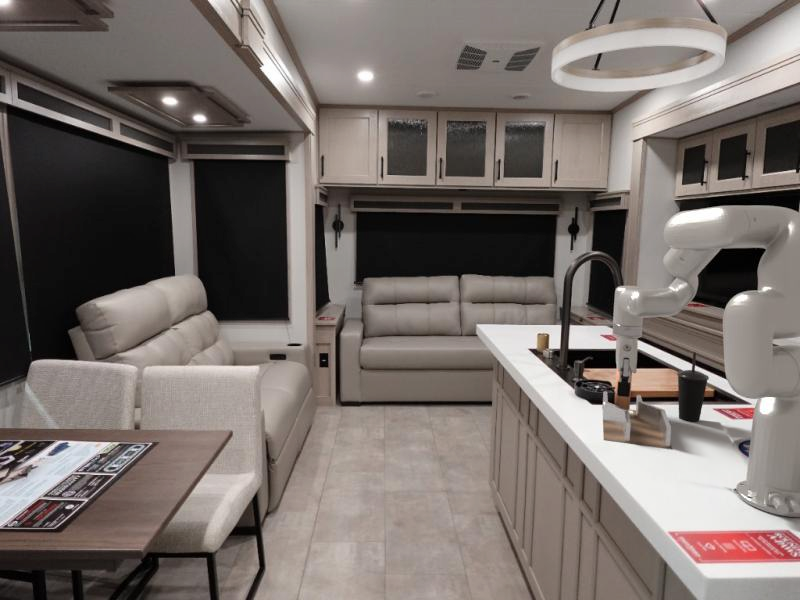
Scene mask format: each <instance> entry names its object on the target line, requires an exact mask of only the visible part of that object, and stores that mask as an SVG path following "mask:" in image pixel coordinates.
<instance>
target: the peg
mask: <svg viewBox="0 0 800 600" xmlns="http://www.w3.org/2000/svg"><path fill="white" fill-rule="evenodd" d="M621 368H622V367H621ZM621 371H623V369H621ZM628 372H629V370H628ZM615 373H616V375H615V376H616V377H615V388H614V390H615V391H614V403H613V404H614V405H616V406H619V407H621V408H624V409H626V410H631V409H630V407H631V394H632V393H631V391H632V378H633V372H632V371H631V372H630V373H631V374H630V383H631V384H630V396H629V397H623V396H618V395H617V388H618V382H619V371H618V370H617V369H616V372H615ZM622 375H623V374H622Z"/></svg>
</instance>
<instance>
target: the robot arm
mask: <svg viewBox="0 0 800 600" xmlns="http://www.w3.org/2000/svg"><path fill="white" fill-rule="evenodd" d="M663 240H664V242H665V243H666V245H667V246H668V247H670V249H669V250H668V251H667V252H666V254H664V257H663V260H662V261H663V265H664V267H665V269H666V270H667V272H668V273H670V275H672V276H673V277H675V278H674V280H673V281H672V283H670V285H669V286H667V287H659V288H643V287H640V286H637V285H620V286H617V287H616V288H615V291H614V300H613V301H614V303H613V318H612V319H613V320H612V332H611V333H612V334H611V335H612V336H614V337H616V347H615V364H616V371H617V370H618V371H619V382H618V388H617V395H618V396H623V397H629V396H630V397H631V394H630V384H631V385H632V382H631V383H630V374H631V373H630V372H631V371H632V374H636V373H637V369H638V368H637V365H638V364H637V363H638V345H639V344H638V341H639V340H638V339H639V338H642V335H643V324H644V323H643V320H644V319H645V318H659V317H661V318H662V317H672V316H675V315H677V314H679V313H680V312H681V311H683V310H684V309H685V308H686V307H687V305H689V304H690V303H691V301H692V300H693V299H694V298H695V296H696V294H697V291H698V288H699V276H698V275H699V274H700V273H701V272H702V270H704V269H705V268H706V266H707V265H708V264H709V263H710V262H711V261H712V260H713V259H714V258H715V256H716V255H717V254H719V252H720V251H721V250H722V249H753V248H754V249H758V248H759V249H765V251H764V252H763V254H762V256H761V257H760V260H759V263H758V267H757V290H754V289H753V290H746V291H742V292H739V293H736V295H734V296H732V298H730V300H729V301H728V302H727V303H726V306H725V308H724V311H723V315H722V338H723V342H722V343H723V363H724V373H725V377H726V380H727V382H728V385H729V387H730V388H731V390H732V391H733V392H735V393H736V394H737V395H739V396H741V397H742V398H746V399H750V400H751V399H752V400H757V401H756V403H755V406H754V409H753V416H752V425H751V434H750V441H749V442H750V443H749V444H750V445H749V451H748V462H747V471H746V479H745V480H742V481H740V482H738V483H737V484H736V489H735V490H736V491H735V492H736V494H737V496H738V497H739V498H740V499H741V500H743V502H745V503H746V504H748V505H750V506H751V507H754V508H756V509H759V510H761V511H763V512H766V513H769V514H773V515H778V516H782V517H790V518H800V345H792V344H791V345H790V344H789V345H788V344H786V345H773V344H774V342H773V341H774V340H782V339H783V340H786V339H795V338H799V337H800V212H798V211H797V210H794V209H792V208H788V207H783V206H777V205H776V206H775V205H756V204H755V205H733V204H732V205H718V206H711V207H706V208H705V207H704V208H699V209H692V210H691V209H690V210H682V211H679V212H677V213H675V214H674V215H672V216H671V217H670V218H669V219H668V221H667V222H666V223H665V225H664V229H663ZM621 367H622V368H621ZM621 369H623V371H621ZM628 370H629V372H628ZM622 374H623V375H622Z"/></svg>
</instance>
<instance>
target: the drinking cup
mask: <svg viewBox="0 0 800 600" xmlns="http://www.w3.org/2000/svg"><path fill="white" fill-rule="evenodd" d="M696 358H697V352H693V353H692V362H691V363H692V364H691V365H692V366H691V369H685V370H681V371H678V372H677V373H676V375H677V384H678V387H677V389H678V390H677V391H678V394H677V395H678V396H677V397H678V418H679V420H680V421H683V422H688V423H699V421H700V419H701V414H702V409H703V403H704V399H705V393H706V388H707V383H708V380H709V379H710V377H709V375H707V374H705V373H703V372H701V371H698V370H696Z"/></svg>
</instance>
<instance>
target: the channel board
mask: <svg viewBox="0 0 800 600" xmlns="http://www.w3.org/2000/svg"><path fill="white" fill-rule="evenodd" d="M601 407H602V408H601V410H603V405H602V406H601ZM629 416H630V421H631V427H630V441H629V442H626V441H625V437H624V430H623V428H621V427H619V426H617V425H615V424H612V423H610V422H608V421H606V420H603V419H602V426H603V427H602V429H603V431H602V432H603V441H607V442H614V443H620V444H621V443H622V444H628V445H637V446H644V447H650V448H651V447H652V448H657V449H666V450H673V446H672V444H671V442H670V448H669V447H665V445H664V442H663V438H662V435H661V432H660V429H659V428H658V427H656V426H653V425H651V424H648V423H646V422H643V421H641V420H639V419H637V415H636V409H629Z"/></svg>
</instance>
